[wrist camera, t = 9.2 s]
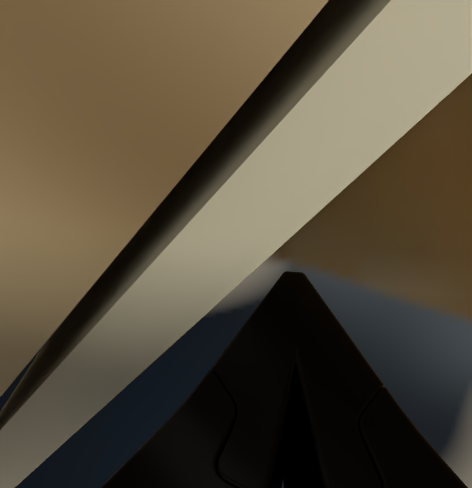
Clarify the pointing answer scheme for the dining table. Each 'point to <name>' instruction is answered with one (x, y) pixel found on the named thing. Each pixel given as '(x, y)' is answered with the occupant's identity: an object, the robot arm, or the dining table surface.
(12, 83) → the cabinet
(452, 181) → the dining table surface
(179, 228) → the white flat slab piece
